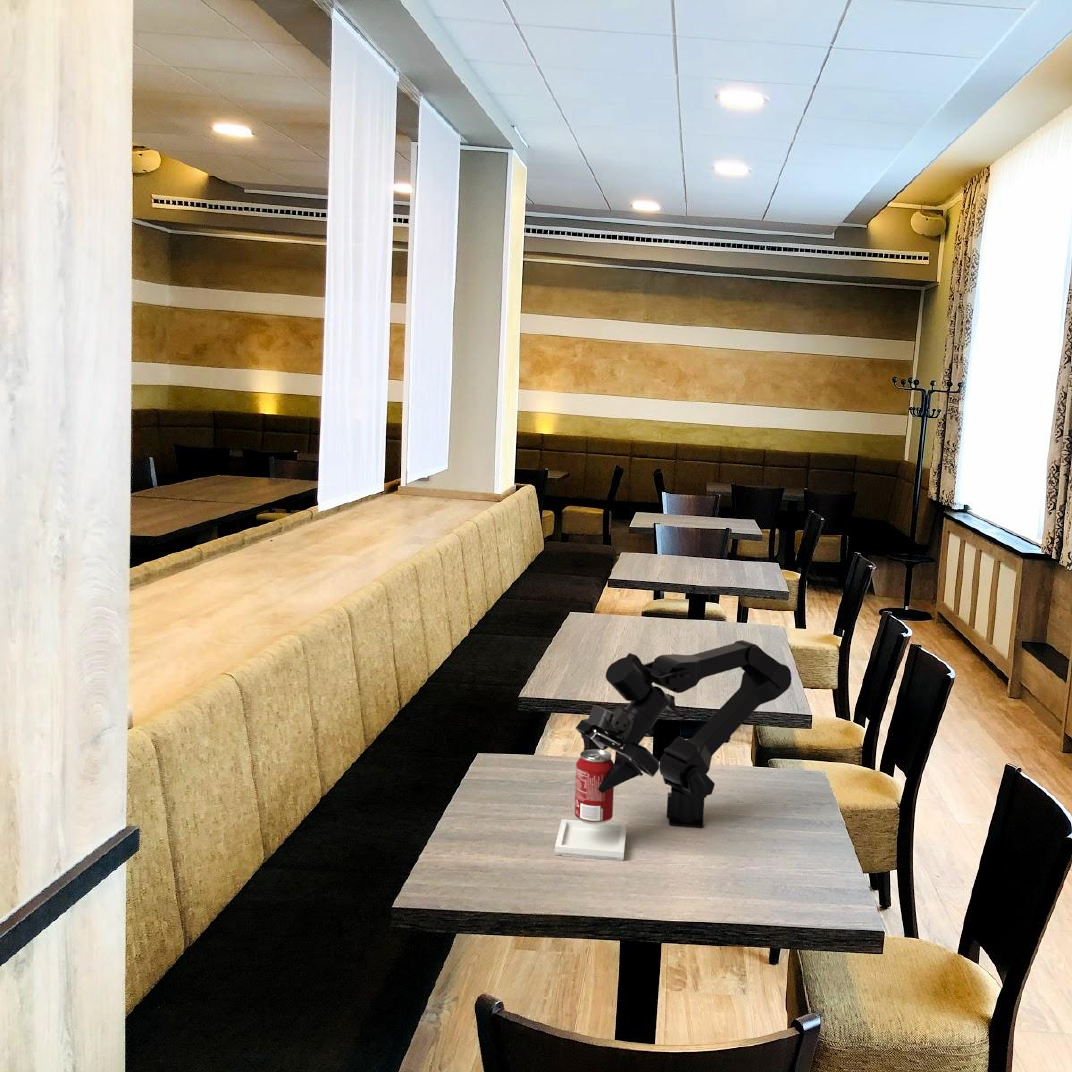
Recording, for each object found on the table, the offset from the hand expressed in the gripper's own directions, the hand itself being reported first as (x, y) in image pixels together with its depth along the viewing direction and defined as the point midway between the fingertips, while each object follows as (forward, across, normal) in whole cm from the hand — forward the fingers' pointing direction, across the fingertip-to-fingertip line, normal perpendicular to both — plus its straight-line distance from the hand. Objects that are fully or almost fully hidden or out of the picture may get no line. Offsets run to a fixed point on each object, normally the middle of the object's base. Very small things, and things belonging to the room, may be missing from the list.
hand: (588, 784), depth 196 cm
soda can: (+4, 0, +6) cm, 7 cm away
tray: (+7, 0, +9) cm, 11 cm away
